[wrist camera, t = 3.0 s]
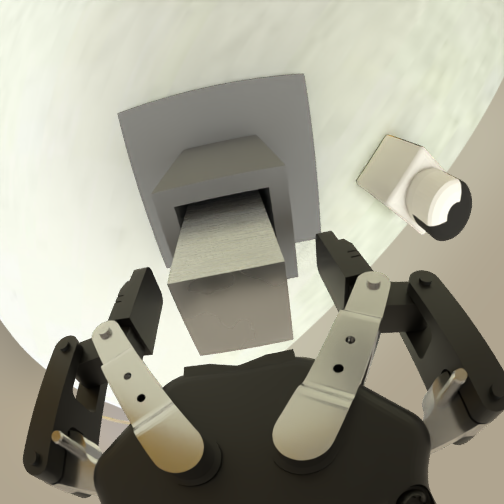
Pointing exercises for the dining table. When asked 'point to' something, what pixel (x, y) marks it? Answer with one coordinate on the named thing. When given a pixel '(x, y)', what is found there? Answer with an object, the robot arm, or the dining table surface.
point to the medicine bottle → (417, 188)
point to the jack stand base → (227, 156)
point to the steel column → (230, 275)
